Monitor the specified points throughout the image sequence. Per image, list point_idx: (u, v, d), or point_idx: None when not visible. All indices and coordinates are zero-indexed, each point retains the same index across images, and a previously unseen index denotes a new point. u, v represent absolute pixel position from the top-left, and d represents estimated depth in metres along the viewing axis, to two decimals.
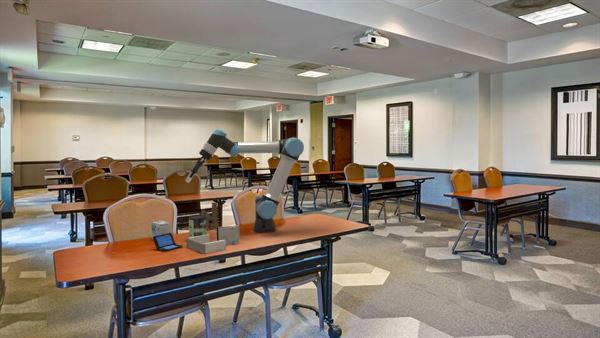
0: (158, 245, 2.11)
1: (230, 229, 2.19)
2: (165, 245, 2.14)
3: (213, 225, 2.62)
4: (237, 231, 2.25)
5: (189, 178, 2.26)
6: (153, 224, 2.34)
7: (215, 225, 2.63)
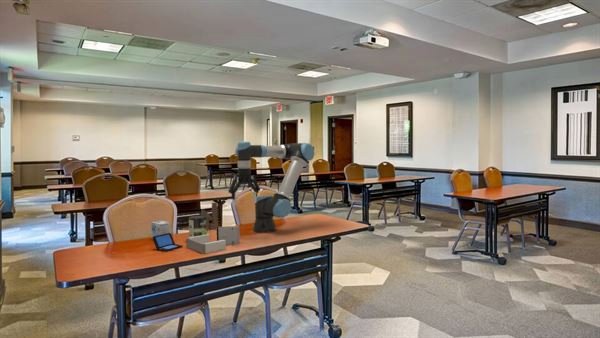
0: (158, 245, 2.11)
1: (230, 229, 2.19)
2: (165, 245, 2.14)
3: (213, 225, 2.62)
4: (237, 231, 2.25)
5: None
6: (153, 224, 2.34)
7: (215, 225, 2.63)
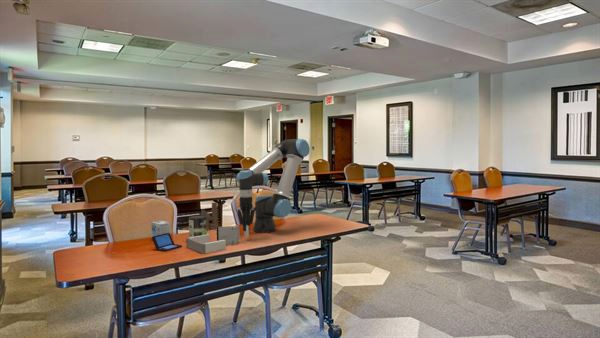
0: (157, 245, 2.11)
1: (230, 229, 2.19)
2: (164, 245, 2.14)
3: (213, 225, 2.62)
4: (237, 231, 2.25)
5: None
6: (153, 224, 2.34)
7: (215, 225, 2.63)
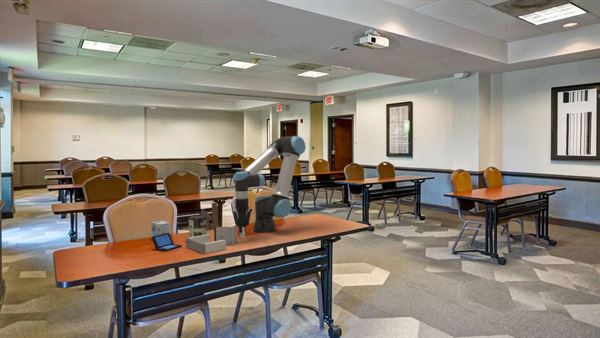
0: (157, 245, 2.11)
1: (228, 229, 2.18)
2: (164, 245, 2.14)
3: (213, 225, 2.62)
4: (235, 231, 2.24)
5: None
6: (153, 224, 2.34)
7: (215, 225, 2.63)
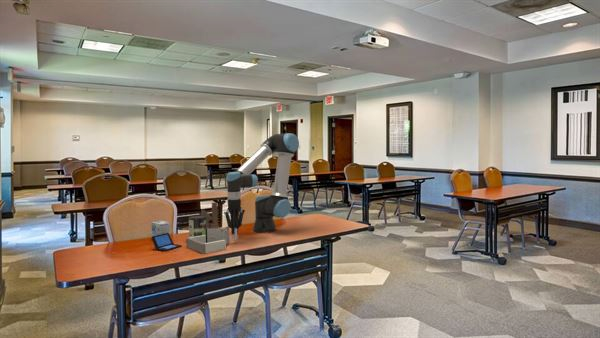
0: (157, 245, 2.11)
1: (219, 231, 2.15)
2: (164, 245, 2.14)
3: (213, 225, 2.62)
4: (227, 233, 2.21)
5: None
6: (153, 224, 2.34)
7: (215, 225, 2.63)
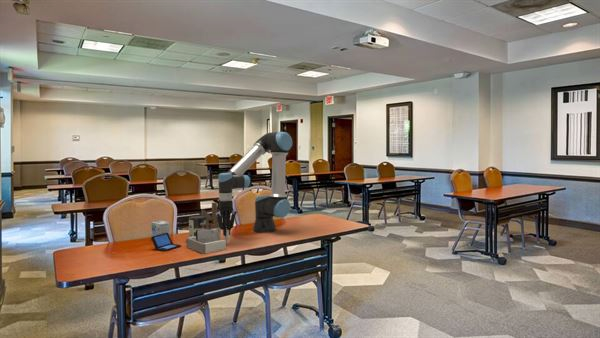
0: (157, 245, 2.11)
1: (210, 232, 2.12)
2: (163, 245, 2.14)
3: (213, 225, 2.62)
4: (218, 234, 2.17)
5: None
6: (153, 224, 2.34)
7: (215, 225, 2.63)
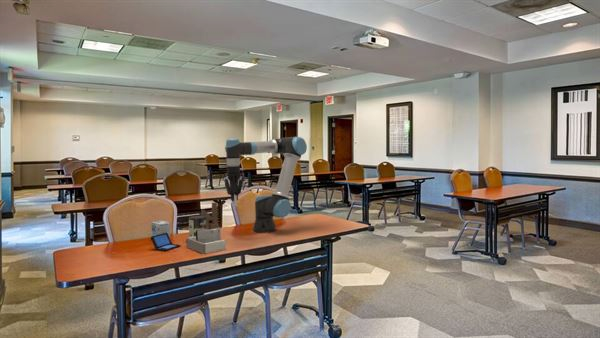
0: (156, 245, 2.11)
1: (210, 232, 2.12)
2: (163, 245, 2.14)
3: (213, 225, 2.62)
4: (218, 234, 2.17)
5: None
6: (153, 224, 2.34)
7: (215, 225, 2.63)
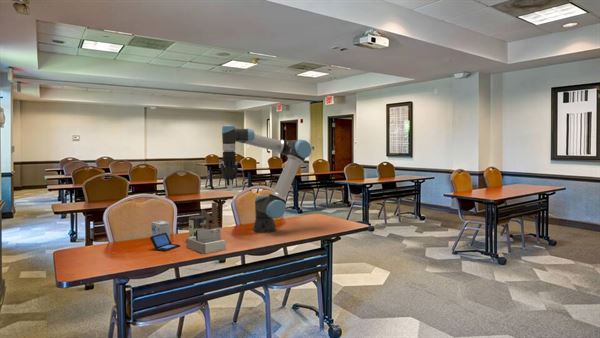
0: (156, 245, 2.11)
1: (210, 232, 2.12)
2: (162, 245, 2.15)
3: (213, 225, 2.62)
4: (218, 234, 2.17)
5: None
6: (153, 224, 2.34)
7: (215, 225, 2.63)
